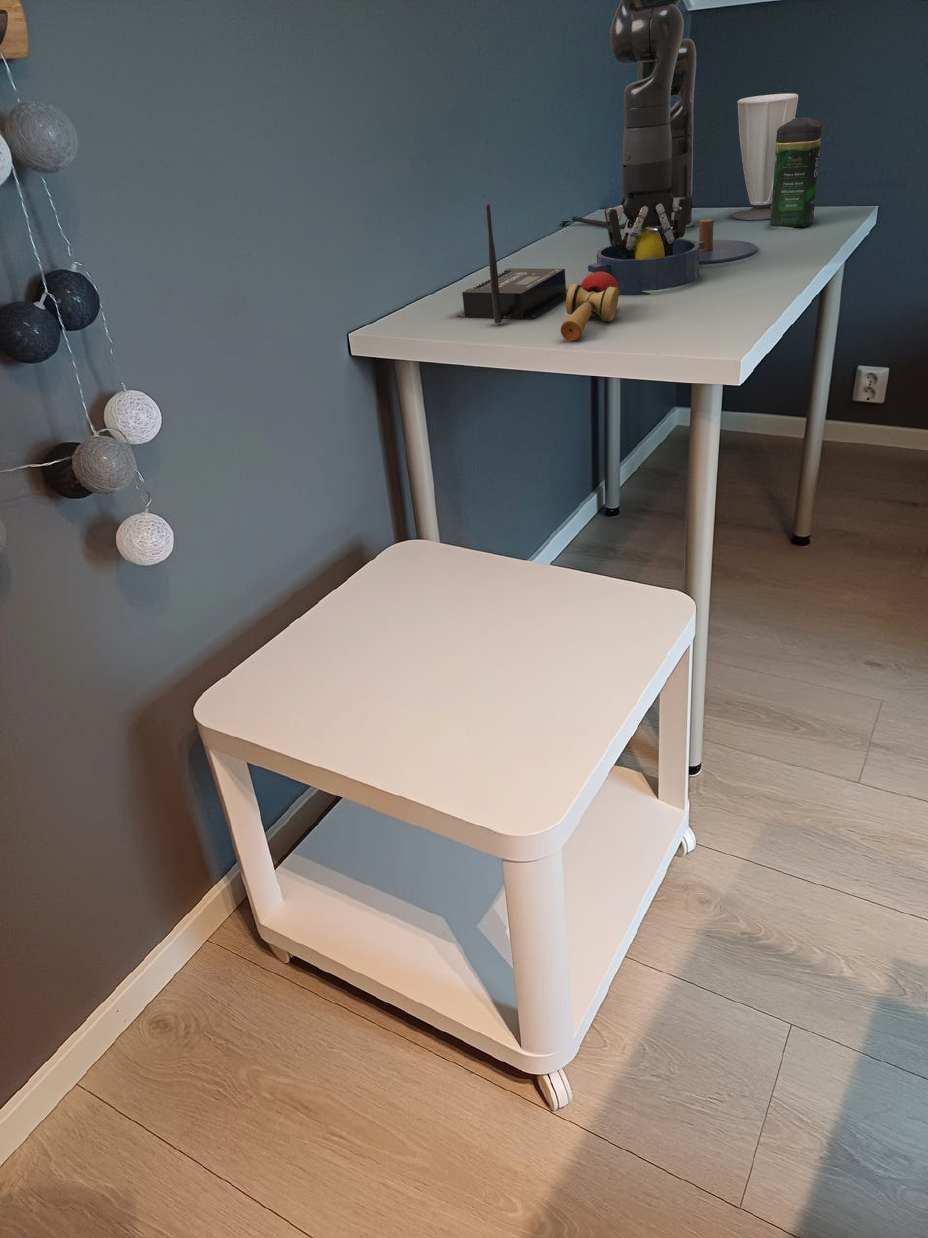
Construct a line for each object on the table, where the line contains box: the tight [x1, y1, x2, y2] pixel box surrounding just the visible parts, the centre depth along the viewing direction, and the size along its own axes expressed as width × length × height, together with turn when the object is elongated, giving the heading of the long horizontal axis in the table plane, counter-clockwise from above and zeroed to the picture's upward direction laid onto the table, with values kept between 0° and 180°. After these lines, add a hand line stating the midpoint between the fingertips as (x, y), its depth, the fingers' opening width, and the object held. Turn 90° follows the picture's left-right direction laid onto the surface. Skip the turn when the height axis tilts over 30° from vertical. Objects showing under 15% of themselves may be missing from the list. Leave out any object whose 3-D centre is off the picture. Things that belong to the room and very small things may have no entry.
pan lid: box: [698, 218, 758, 265], centre depth 167 cm, size 17×17×6 cm
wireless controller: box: [456, 203, 568, 324], centre depth 147 cm, size 20×14×17 cm
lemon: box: [632, 229, 665, 259], centre depth 155 cm, size 6×6×8 cm
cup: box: [732, 93, 799, 221], centre depth 190 cm, size 12×12×22 cm
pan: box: [587, 238, 705, 296], centre depth 155 cm, size 16×22×5 cm
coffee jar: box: [769, 116, 823, 229], centre depth 180 cm, size 10×8×19 cm
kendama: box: [560, 272, 620, 342], centre depth 137 cm, size 8×6×18 cm
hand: (647, 269), depth 156 cm, fingers closed on lemon, 5 cm apart
